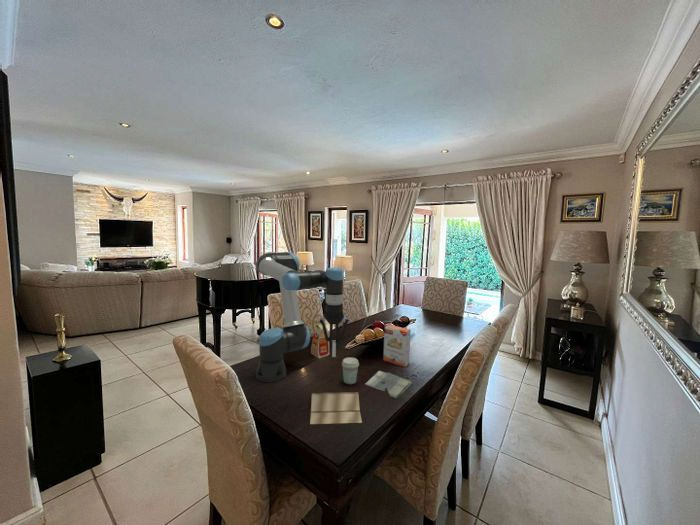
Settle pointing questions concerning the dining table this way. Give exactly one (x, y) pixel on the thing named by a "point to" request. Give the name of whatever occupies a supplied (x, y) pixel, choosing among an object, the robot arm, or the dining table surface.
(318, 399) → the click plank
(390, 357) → the cracker box
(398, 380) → the dish towel
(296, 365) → the dining table surface
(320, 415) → the laid plank
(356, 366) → the coffee cup
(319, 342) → the milk carton
